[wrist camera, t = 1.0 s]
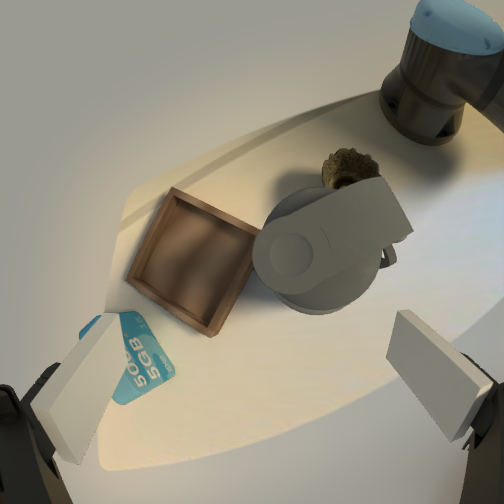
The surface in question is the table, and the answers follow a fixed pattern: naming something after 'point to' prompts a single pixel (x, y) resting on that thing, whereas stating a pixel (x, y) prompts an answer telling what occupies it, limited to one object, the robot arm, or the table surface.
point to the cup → (348, 168)
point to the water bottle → (329, 244)
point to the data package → (138, 358)
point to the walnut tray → (194, 261)
